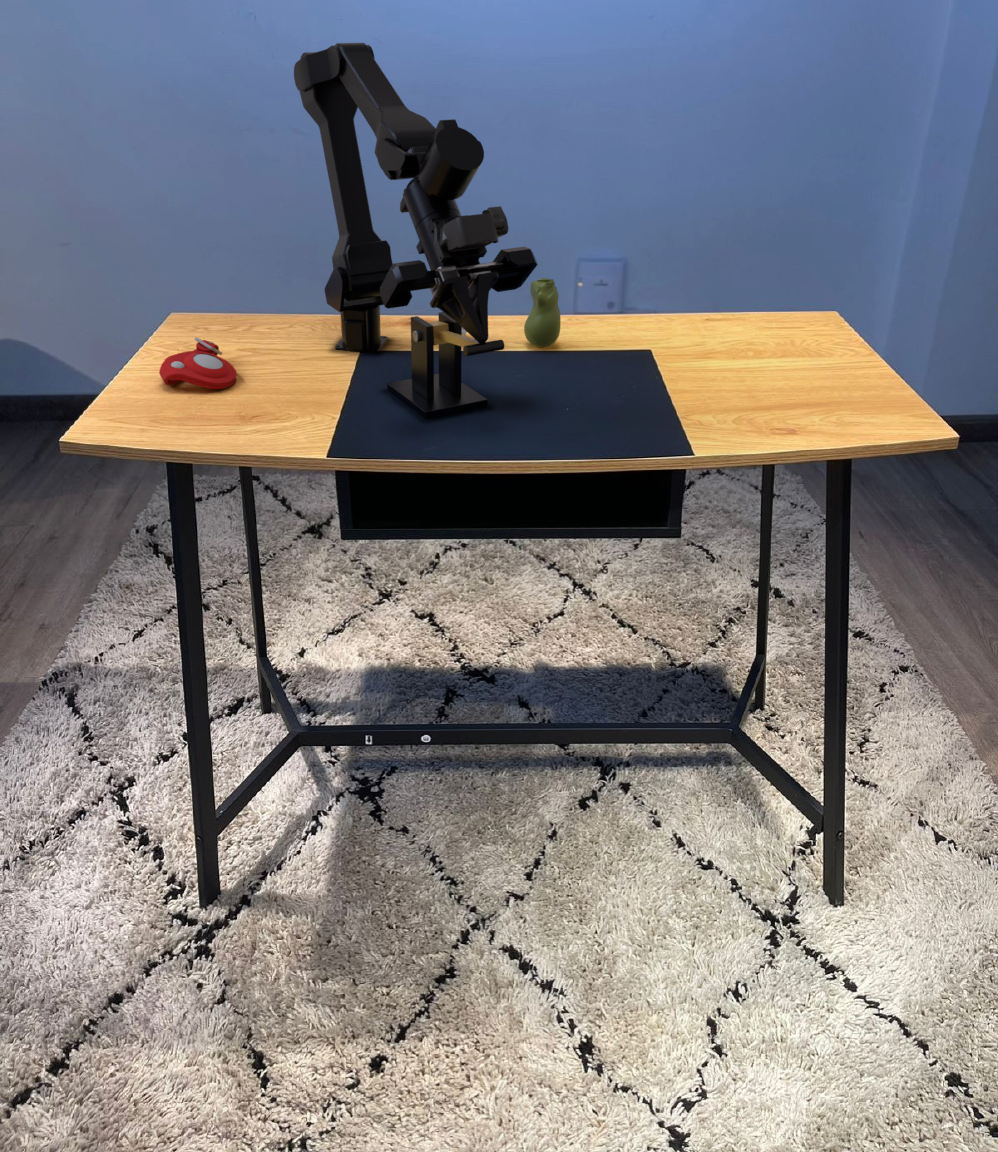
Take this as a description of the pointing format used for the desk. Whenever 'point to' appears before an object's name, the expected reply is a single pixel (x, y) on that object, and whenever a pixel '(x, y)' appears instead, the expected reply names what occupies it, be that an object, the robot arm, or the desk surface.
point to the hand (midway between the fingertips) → (484, 341)
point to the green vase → (543, 314)
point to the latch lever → (463, 340)
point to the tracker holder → (199, 367)
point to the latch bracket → (435, 375)
